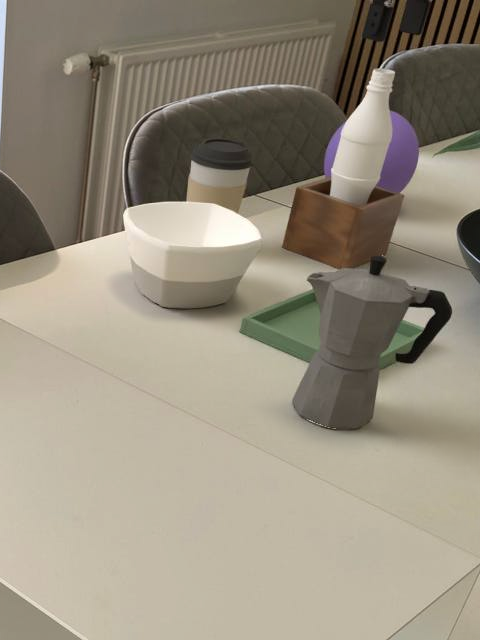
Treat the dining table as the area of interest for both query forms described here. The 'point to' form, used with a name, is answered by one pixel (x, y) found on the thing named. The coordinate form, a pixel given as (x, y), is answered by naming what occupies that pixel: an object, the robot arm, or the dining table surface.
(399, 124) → the decorative ball
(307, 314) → the tray
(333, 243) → the wooden box
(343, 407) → the coffeepot
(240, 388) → the dining table surface
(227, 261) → the bowl
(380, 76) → the water bottle
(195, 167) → the coffee cup
